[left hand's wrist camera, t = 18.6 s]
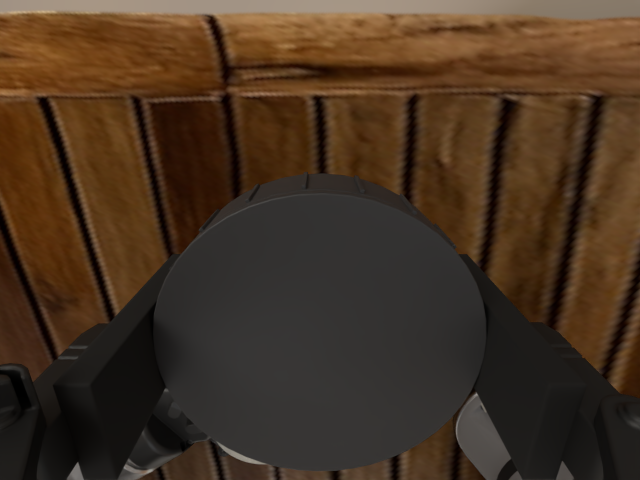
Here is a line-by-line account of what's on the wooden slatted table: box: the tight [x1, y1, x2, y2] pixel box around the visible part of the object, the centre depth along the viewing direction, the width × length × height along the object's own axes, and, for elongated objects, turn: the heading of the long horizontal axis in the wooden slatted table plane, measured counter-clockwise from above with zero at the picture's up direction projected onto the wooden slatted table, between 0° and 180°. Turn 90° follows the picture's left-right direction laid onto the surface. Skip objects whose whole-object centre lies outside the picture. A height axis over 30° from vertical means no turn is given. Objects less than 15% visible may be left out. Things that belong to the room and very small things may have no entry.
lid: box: [153, 172, 487, 471], centre depth 11 cm, size 9×9×2 cm
